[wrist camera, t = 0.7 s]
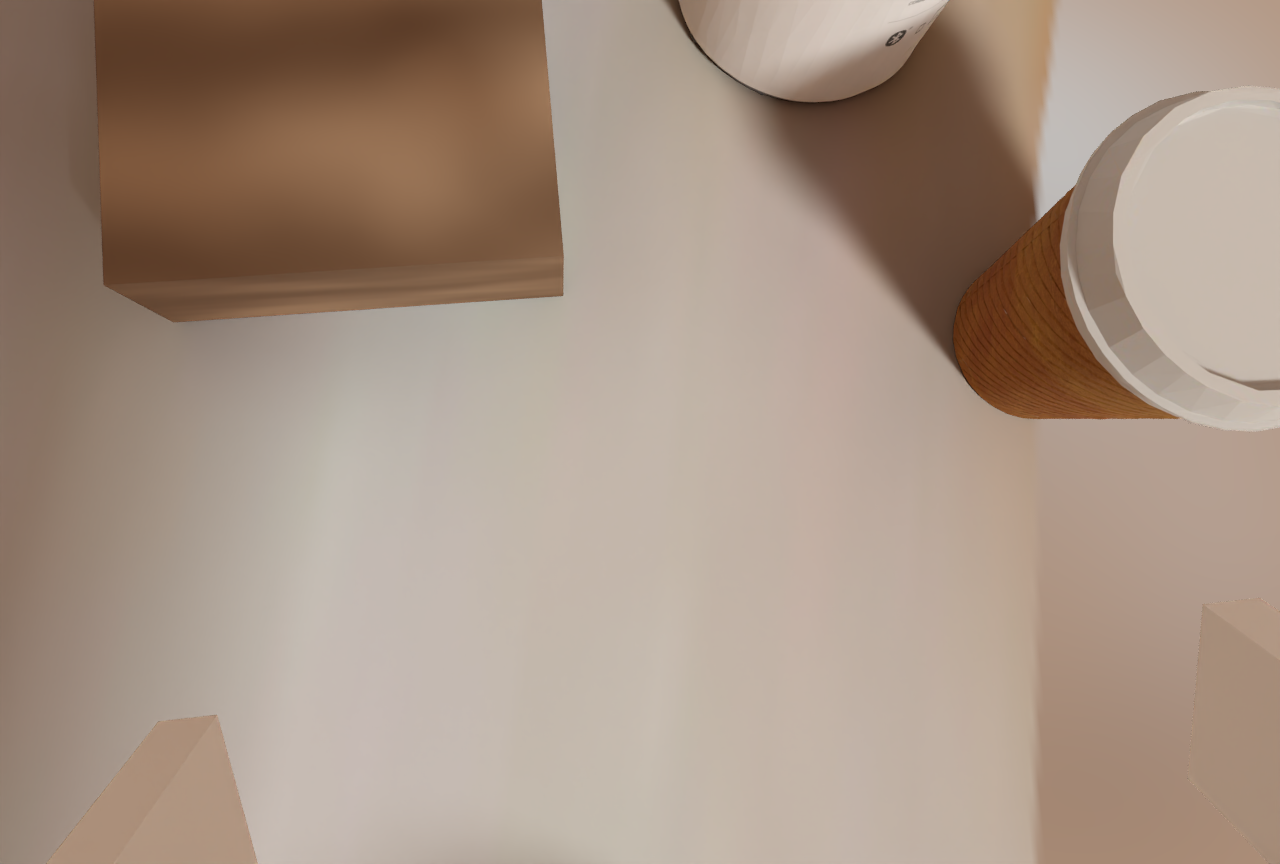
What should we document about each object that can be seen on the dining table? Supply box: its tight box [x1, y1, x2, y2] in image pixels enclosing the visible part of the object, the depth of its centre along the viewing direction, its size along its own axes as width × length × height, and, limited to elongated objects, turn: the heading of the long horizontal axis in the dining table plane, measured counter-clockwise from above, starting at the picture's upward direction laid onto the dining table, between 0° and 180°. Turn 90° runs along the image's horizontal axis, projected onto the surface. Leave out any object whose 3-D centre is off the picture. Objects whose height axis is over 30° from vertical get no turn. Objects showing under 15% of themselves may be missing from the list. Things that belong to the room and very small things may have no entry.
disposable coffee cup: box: [953, 86, 1280, 431], centre depth 29 cm, size 10×10×12 cm
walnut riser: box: [94, 0, 564, 322], centre depth 31 cm, size 14×14×5 cm
